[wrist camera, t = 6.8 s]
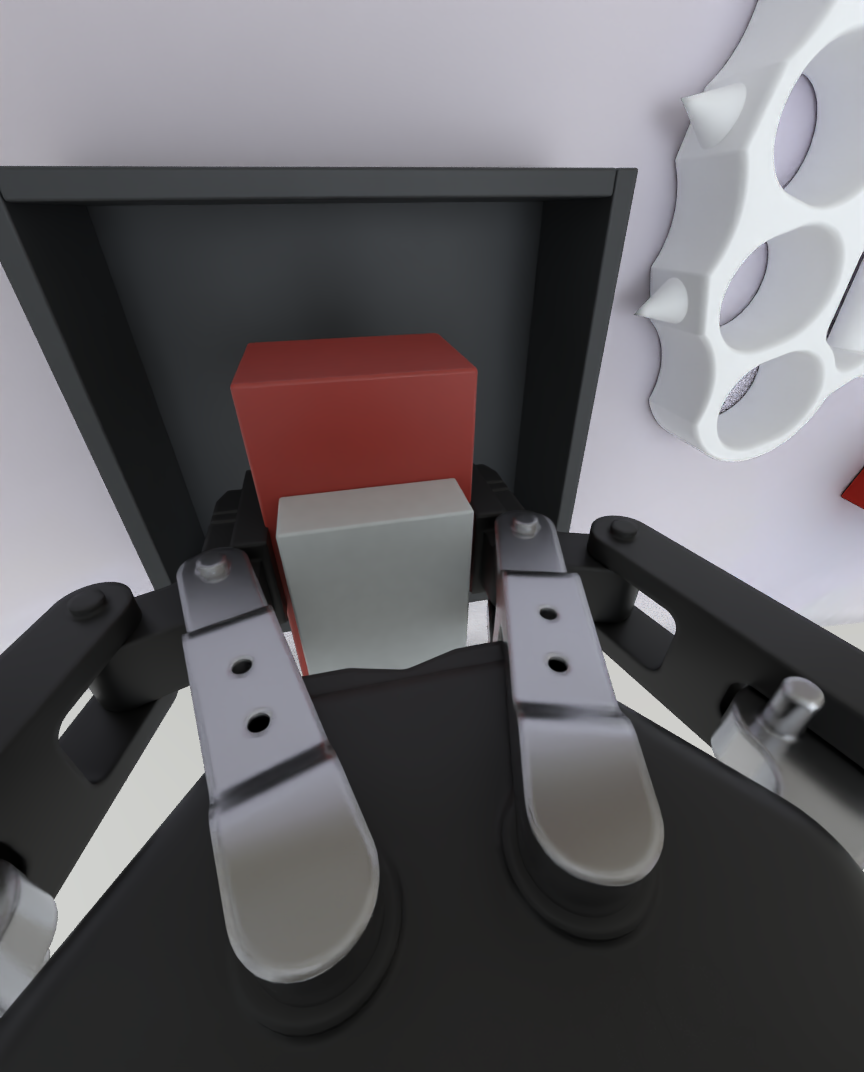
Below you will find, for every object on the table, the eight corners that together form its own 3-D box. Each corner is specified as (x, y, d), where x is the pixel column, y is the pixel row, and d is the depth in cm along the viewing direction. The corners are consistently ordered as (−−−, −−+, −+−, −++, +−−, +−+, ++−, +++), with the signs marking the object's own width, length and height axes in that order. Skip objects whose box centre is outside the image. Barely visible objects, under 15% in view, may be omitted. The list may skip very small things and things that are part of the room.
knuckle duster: (837, 419, 25) (583, 445, 22) (1121, -140, 14) (708, -208, 12) (901, 444, 22) (622, 477, 19) (1309, -222, 12) (826, -333, 9)
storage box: (206, 566, 21) (181, 649, 17) (62, 181, 13) (-47, 165, 9) (516, 525, 24) (558, 588, 20) (554, 179, 16) (639, 168, 12)
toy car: (434, 573, 16) (480, 698, 12) (302, 593, 15) (303, 734, 11) (434, 326, 12) (509, 390, 7) (246, 336, 11) (210, 413, 7)
